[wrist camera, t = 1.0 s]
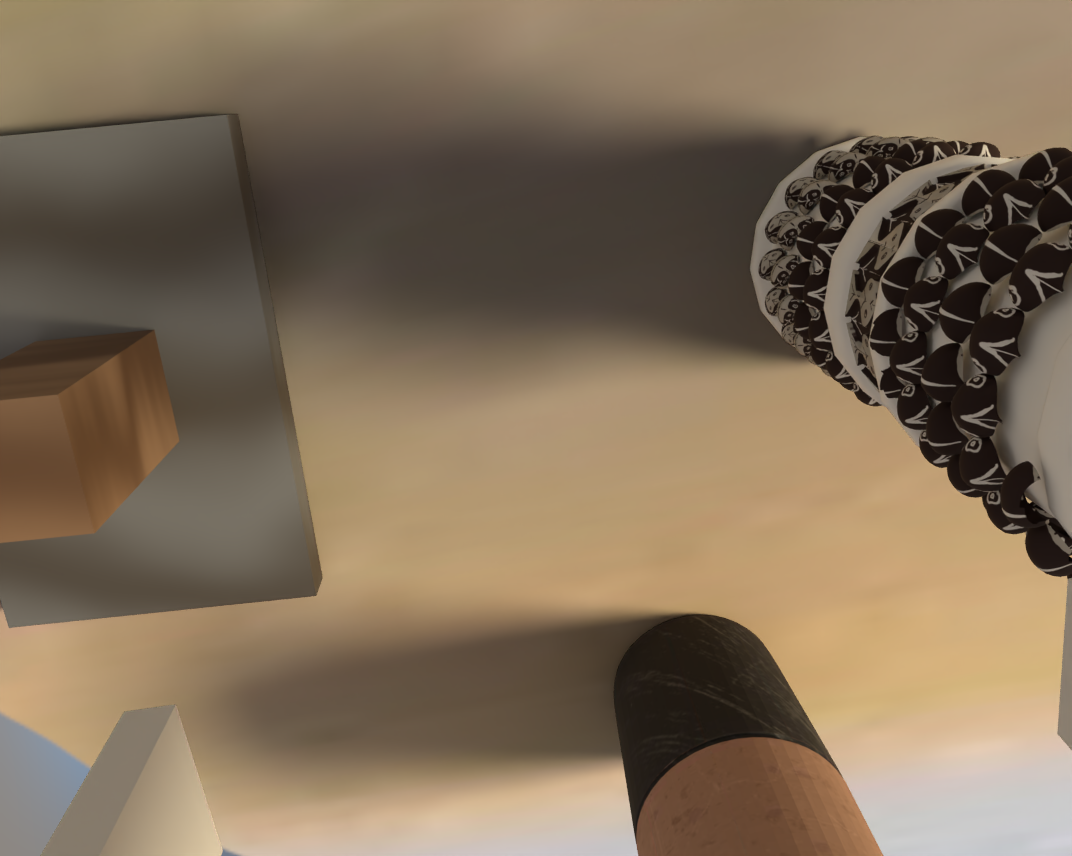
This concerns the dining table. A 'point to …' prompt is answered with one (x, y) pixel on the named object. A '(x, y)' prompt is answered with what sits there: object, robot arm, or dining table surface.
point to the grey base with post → (141, 380)
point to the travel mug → (726, 751)
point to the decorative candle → (940, 309)
